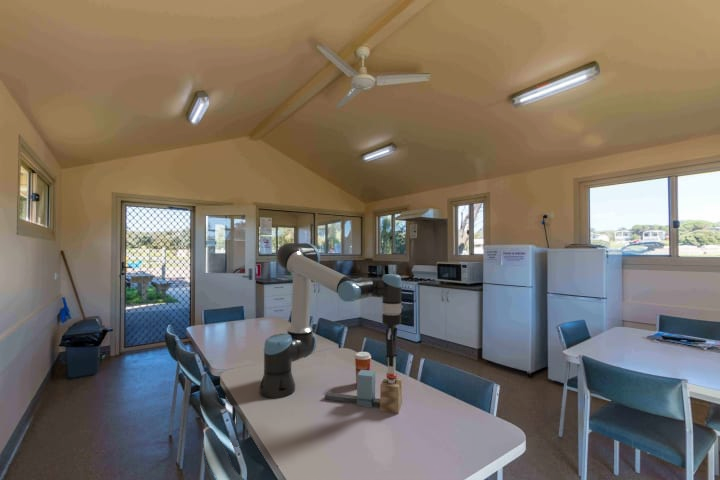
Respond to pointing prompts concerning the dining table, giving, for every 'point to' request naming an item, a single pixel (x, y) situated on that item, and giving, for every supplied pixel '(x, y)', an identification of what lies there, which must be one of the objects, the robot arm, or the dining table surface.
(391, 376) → the plunger
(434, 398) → the dining table surface
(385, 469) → the dining table surface
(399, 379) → the housing
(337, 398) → the rail
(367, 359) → the paper cup
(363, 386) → the block
